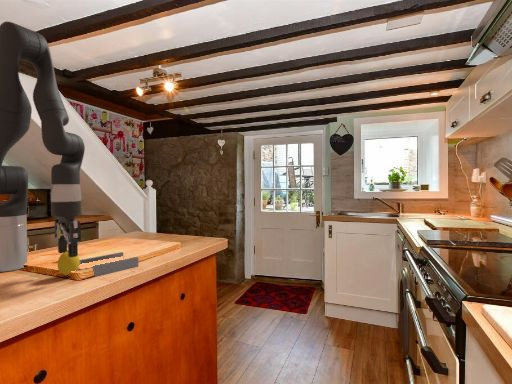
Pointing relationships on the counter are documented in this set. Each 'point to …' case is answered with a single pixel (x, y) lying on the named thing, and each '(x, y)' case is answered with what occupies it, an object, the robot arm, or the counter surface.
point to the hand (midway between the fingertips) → (67, 254)
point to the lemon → (68, 263)
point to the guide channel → (111, 264)
